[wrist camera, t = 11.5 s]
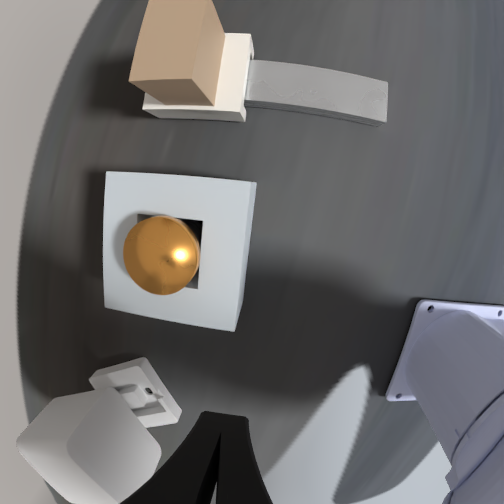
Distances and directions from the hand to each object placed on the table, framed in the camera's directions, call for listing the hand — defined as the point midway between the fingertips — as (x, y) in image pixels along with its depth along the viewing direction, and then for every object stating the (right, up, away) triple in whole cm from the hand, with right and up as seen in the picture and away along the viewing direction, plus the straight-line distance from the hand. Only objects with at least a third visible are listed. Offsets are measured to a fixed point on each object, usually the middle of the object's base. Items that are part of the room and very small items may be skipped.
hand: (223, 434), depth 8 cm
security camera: (-9, -5, +13) cm, 16 cm away
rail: (+2, +15, +7) cm, 17 cm away
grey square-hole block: (-3, +7, +9) cm, 12 cm away
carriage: (-2, +15, +7) cm, 17 cm away
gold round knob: (-3, +6, +9) cm, 11 cm away
